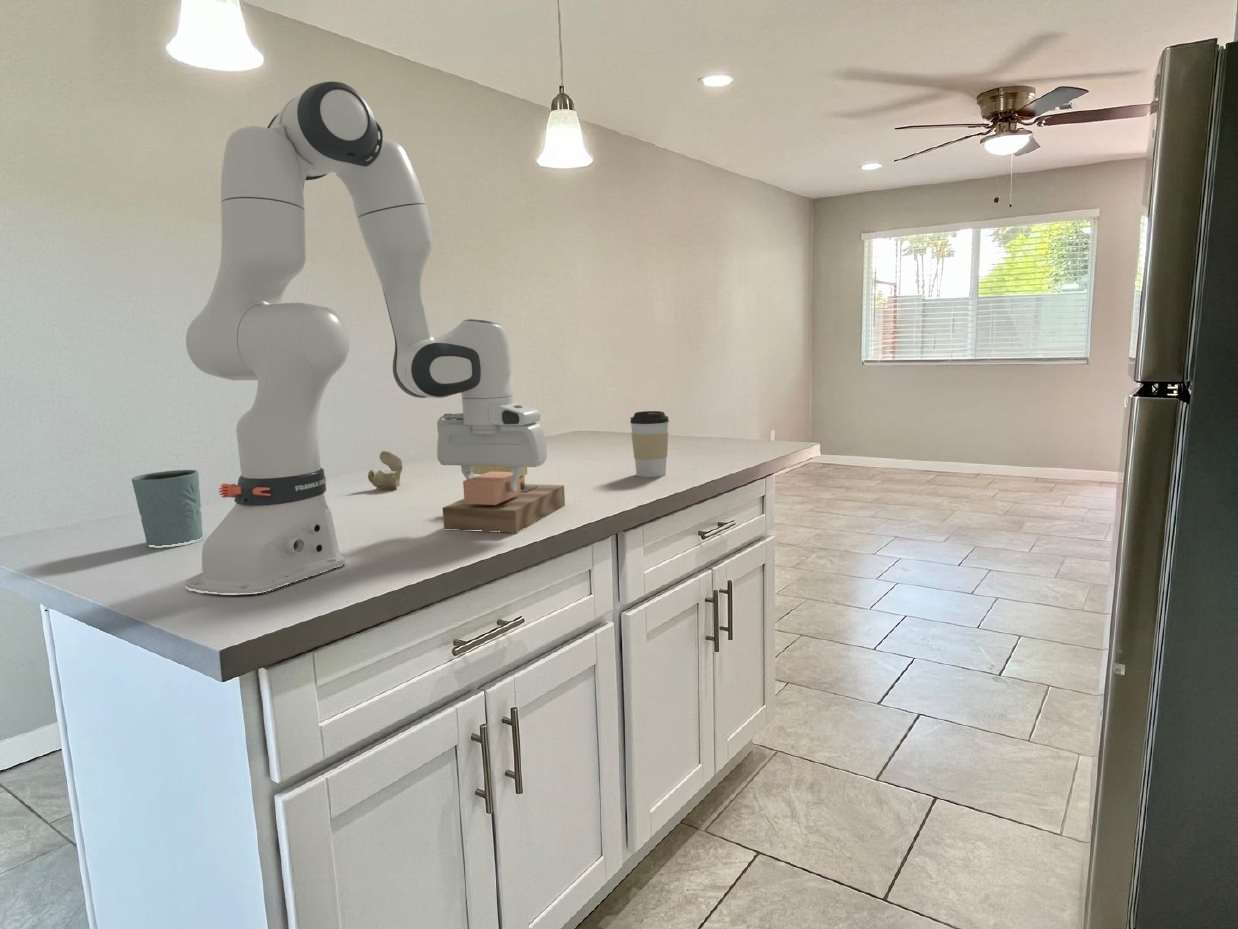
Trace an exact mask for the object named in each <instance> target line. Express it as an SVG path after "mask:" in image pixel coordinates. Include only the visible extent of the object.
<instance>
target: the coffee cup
mask: <svg viewBox="0 0 1238 929" xmlns="http://www.w3.org/2000/svg"><path fill="white" fill-rule="evenodd" d="M669 422H670V420H669V416H668V415H666V413H665V412H664V411H662V410H660V411H659V410H650V411H649V410H644V411H638V412H634V414H633V416H631V417H630V426H631V442H632V443H631V444H632V451H633V457H634V463H635V464H634V465H635V471H636V476H637V477H639V478H659V477H664V476H666V473H667V458H668V449H669V448H668V447H669V446H668V444H669Z"/></svg>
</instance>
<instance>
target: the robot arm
mask: <svg viewBox="0 0 1238 929" xmlns="http://www.w3.org/2000/svg"><path fill="white" fill-rule="evenodd" d="M221 169H222V170H221V178H220V179H221V181H220V209H221V210H220V212H221V213H220V215H221V216H220V218H221V220H220V221H221V251H220V252H221V253H220V262H219V268H218V273H217V276H216V280H215V282H214V285H213V288H212V291H211V294H210V296H209V298H208V300H207V302H206V305H205V306H204V307H203V309H202V310H201V311H200V313H199V314H198V315H197V316H195V317H194V319H193V320H192V321H191V322H190V324H189V326H188V328H187V330H186V335H185V346H186V351H187V354H188V357H189V359H190V360H191V362H192V364H194V366H195V367H196V369H199V370H200V371H201V372H202V373H204V374H207V375H209V376H214V377H217V378H222V379H226V380H230V381H257V389H256V395H255V398H254V401H253V404H252V406H251V408H250V409H249V410H248V411H247V412H245V413H243V415H242V416H241V417H240V418H239V419H238V421H237V424H236V428H235V431H236V440H237V450H238V456H239V458H238V459H239V464H240V473H241V474H240V476H239V477H238V481H237V484H235V483H231V484H230V483H222V484H220V486H219V488H218V490H219V491H218V493H219V496H221V498H224V499H225V498H232V499H233V500H234V503H235V505H234V506H233V507H232V508H231V510H230V511H229V512H228V513H227V514H226V516H225V517H224V519H223V520H222V521H221V522H220V524H218V525H217V527H216V528H215V529H214V530H213V532H212V533H211V534H210V535H209V536H208V537H207V538H206V540H205V541H204V542H203V546H202V551H201V552H202V553H201V570H202V572H201V573H198V574H197V575H195V576H193V577H190V578H188V579H187V580H185V581H184V586H185V585H186V586H187V587H188V588H191V589H196V590H201V591H208V592H217V593H238V594H239V593H253V592H254V593H255V592H263V591H267V590H269V589H274V588H276V587H278V586H281V585H284V584H286V583H292V582H295V581H296V580H301V579H303V578H305V577H310V576H313V575H315V574H318V573H320V572H323V571H326V570H330V569H332V568H335V567H338V566H341V565H343V564H345V565H346V559H345V556H343V555H342V553H341V551H340V550H339V544H338V539H337V534H336V530H335V523H334V519H333V514H332V511H331V509H330V508H329V506H328V503H327V501H326V497H325V493H326V491H327V478H326V476H325V469H324V468H322V466H321V455H320V444H319V443H320V442H319V426H318V425H319V424H318V423H319V412H320V406H321V402H322V399H323V396H324V393H325V390H326V388H327V386H328V384H329V382H330V381H331V379H332V378H333V376H334V375H335V374H336V373H337V372H338V371H339V370H341V368H342V367H343V365H345V363H346V359H348V355H349V352H350V336H349V331H348V329H347V327H346V323H344V321H343V319H342V318H341V316H339V314H338V313H337V312H335V310H332V308H328V307H325V306H321V305H318V304H317V305H316V304H311V303H304V302H282V300H283V296H284V294H285V291H286V289H287V287H288V286H289V283H290V282H291V281H292V280H293V279H294V278H295V277H296V276H297V275H299V274H300V273H301V272H302V270H303V268H304V266H305V264H306V258H307V257H306V254H307V252H306V228H305V227H306V222H305V220H306V218H305V216H306V214H305V198H304V197H305V196H304V189H305V183H306V181H313V180H317V179H321V178H323V177H325V176H327V175H328V174H330V173H335V175H336V176H337V177H338V178H339V179H340V180H341V182H342V183H343V184H344V186H345V187H346V189H347V191H348V193H349V195H350V196H351V199H352V204H353V207H354V212H355V214H356V219H357V222H358V226H359V229H360V231H361V235H362V237H363V241H364V243H365V246H366V248H367V251H368V254H369V256H370V258H371V261H372V263H373V266H374V269H375V271H376V275H377V277H378V278H379V279H378V280H379V281H380V284H381V287H382V291H383V296H384V299H385V304H386V308H387V311H388V316H389V321H390V324H391V329H392V332H393V337H394V353H393V354H394V355H393V359H392V374H393V377H394V380H395V382H396V384H397V386H398V387H399V388H400V389H401V390H402V391H403V392H405V393H406V394H407V395H409V396H412V397H414V398H419V399H427V398H430V399H444V398H448V397H451V396H453V395H456V394H461V404H462V413H450V412H449V413H444V414H443V415H442V416H440V417H439V418H438V420H437V422H436V426H437V427H436V428H437V446H436V447H437V448H436V457H437V458H436V459H437V461H438V463H440V465H442V466H460V470H461V474H463V476H464V478H465V480H468V479H471V478H473V477H476V476H475V474H473V472H472V470H474V466H505V467H510V472H511V473H513V475H512V477H511V480H510V481H507V482H505V483H506V491H507V492H515V491H517V489H518V486H517V481H518V479H519V477H520V475H521V473H522V471H523V468H522V467H527V468H537V467H540V466H543V465H544V463H545V462H546V461H547V457H548V456H547V444H546V439H545V438H546V436H545V432H544V429H543V427H542V426H541V425H540V424H539V423H538V422H539V421H540V420H541V419H540V418H541V412H540V411H539V409H536V408H533V407H531V406H527V405H525V404H522V403H519V402H516V401H514V395H513V394H514V393H513V390H512V387H511V383H510V382H511V381H510V379H511V375H512V360H511V352H510V350H511V349H510V344H509V343H510V342H509V339H508V334H507V332H506V329H505V328H504V327H503V326H502V325H501V324H499V323H496V322H493V321H489V320H483V319H475V318H473V319H472V318H470V319H464V320H462V321H461V322H460V323H459V325H457V326H456V327H454V328H453V329H451V330H449V331H447V332H445V333H444V334H441V335H440V336H438V337H435V338H434V337H433V334H432V332H431V328H430V325H429V320H428V315H427V312H426V306H425V302H424V297H423V293H422V277H423V272H424V269H425V268H426V267H425V266H426V264H427V261H428V259H429V258H430V254H431V251H432V249H433V236H432V226H431V221H430V220H431V219H430V215H429V211H428V207H427V203H426V201H425V197H424V194H423V191H422V188H421V185H420V182H419V179H418V176H417V174H416V172H415V169H414V167H413V165H412V162H411V159H410V158H409V156H408V153H407V152H406V151H405V148H404V147H403V146H402V145H401V144H399V142H396V141H394V140H392V139H389V138H386V137H385V138H384V136H383V129H382V127H381V126H380V124H379V123H378V122H377V120H376V118H375V116H374V113H373V111H372V109H371V107H370V106H369V103H367V101H366V100H365V99H364V98H363V96H362V95H361V94H360V92H358V91H357V90H355V88H353V87H352V86H350V85H348V84H346V83H344V82H341V81H323V82H319V83H316V84H313V85H311V86H309V87H308V88H307V89H306V90H304V92H302V93H300V94H299V95H297V96H295V97H293V98H291V100H289V101H288V102H287V103H286V104H285V105H284V106H283V108H282V109H281V110H280V111H279V112H278V113H277V114H276V115H275V116H274V117H273V118H272V119H271V121H270V122H269V124H268V125H267V127H266V126H259V125H258V126H257V125H256V126H255V125H253V126H252V125H251V126H245V127H241V128H239V129H236V130H234V131H233V132H232V133H231V134H230V136H228V138H227V141H226V144H225V148H224V155H223V160H222V167H221ZM341 567H342V566H341ZM330 571H331V570H330ZM318 575H319V574H318ZM313 577H314V576H313ZM310 578H311V577H310ZM301 581H302V580H301ZM295 583H296V582H295Z"/></svg>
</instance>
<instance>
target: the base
mask: <svg viewBox="0 0 1238 929" xmlns="http://www.w3.org/2000/svg"><path fill="white" fill-rule="evenodd" d="M565 498H566V497H565V485H563V484H562V485H561V484H534V483H533V484H531V483H530V484H529V483H525V488H521V494H519V495H517V496H515V497H512V498H510V499H508V500H506V501H503V502H501V503H499V504H497V505H481V504H465V503H464V498H463V499H460V500H457V501H454V502H452V503H450V504H448V505H446V506H445V505H444V506H443V507H442V519H443V530H444V529H457V530H458V529H459V530H482V531H497V532H498V531H500V532H513V533H512V534H518V533H519V532H518V531H520V530H522V529H523V528H525V529H527V528H528V526H529V525H530V526H532V525H533V524H532V523H534V522H535V521H537V522H539V521H540V519H541V518H542V519H544V518H545V516H546V515H547V516H549V515H551V514H553V513H554V512H556V511H557V510H559V509H562V508H563V507H565V505H566V501H565ZM547 516H546V517H547ZM543 517H544V518H543ZM542 519H541V520H542ZM538 520H539V521H538ZM535 523H536V522H535ZM535 523H534V524H535ZM531 524H532V525H531ZM530 526H529V527H530ZM526 527H527V528H526ZM457 530H456V531H457ZM523 530H524V529H523ZM523 530H522V531H523ZM497 532H496V533H497ZM517 532H518V533H517ZM520 532H521V531H520Z"/></svg>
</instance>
